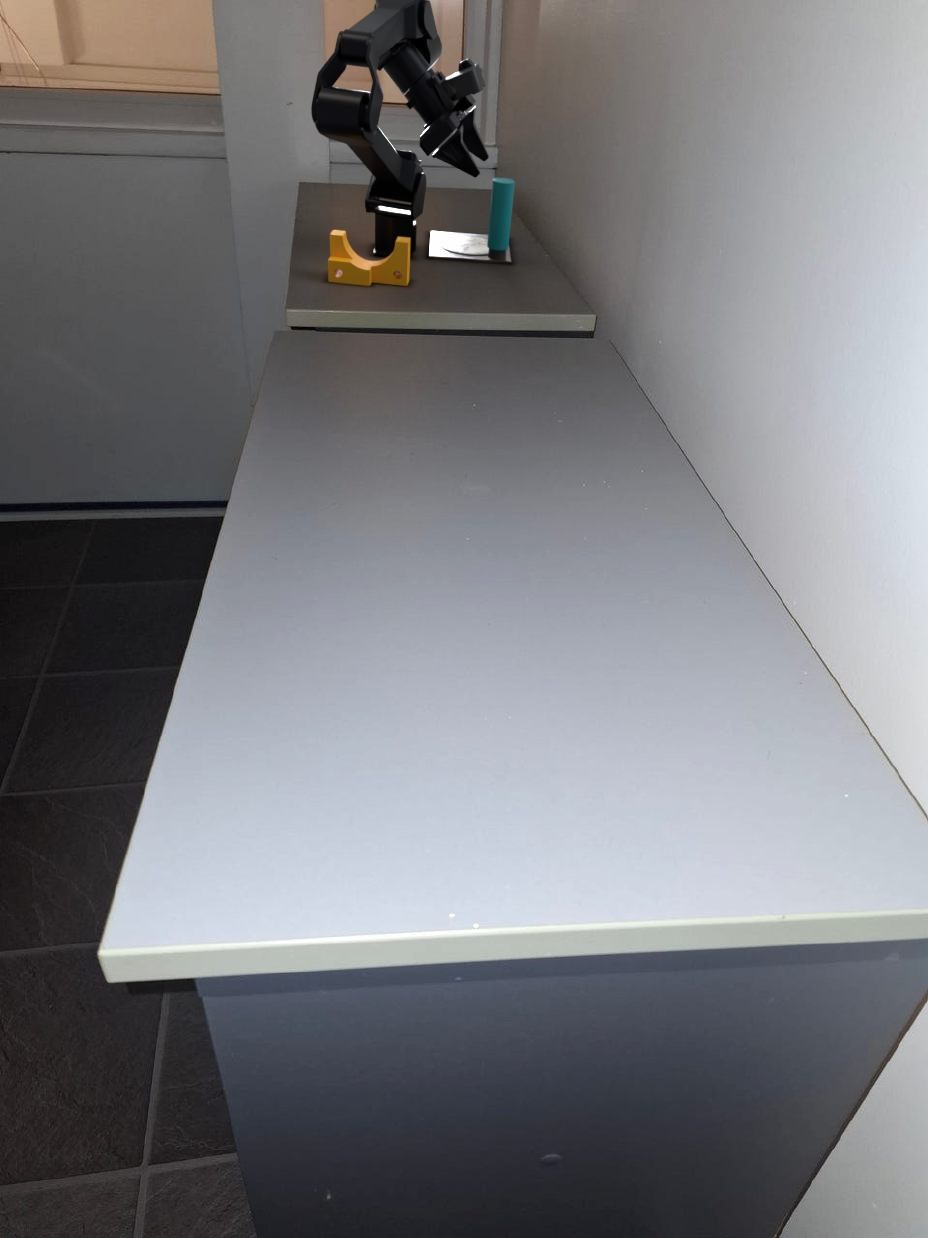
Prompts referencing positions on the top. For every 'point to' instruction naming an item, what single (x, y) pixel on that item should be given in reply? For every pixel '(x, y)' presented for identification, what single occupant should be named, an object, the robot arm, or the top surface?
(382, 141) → the robot arm
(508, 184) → the dot marker
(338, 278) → the pipe clamp
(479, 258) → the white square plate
